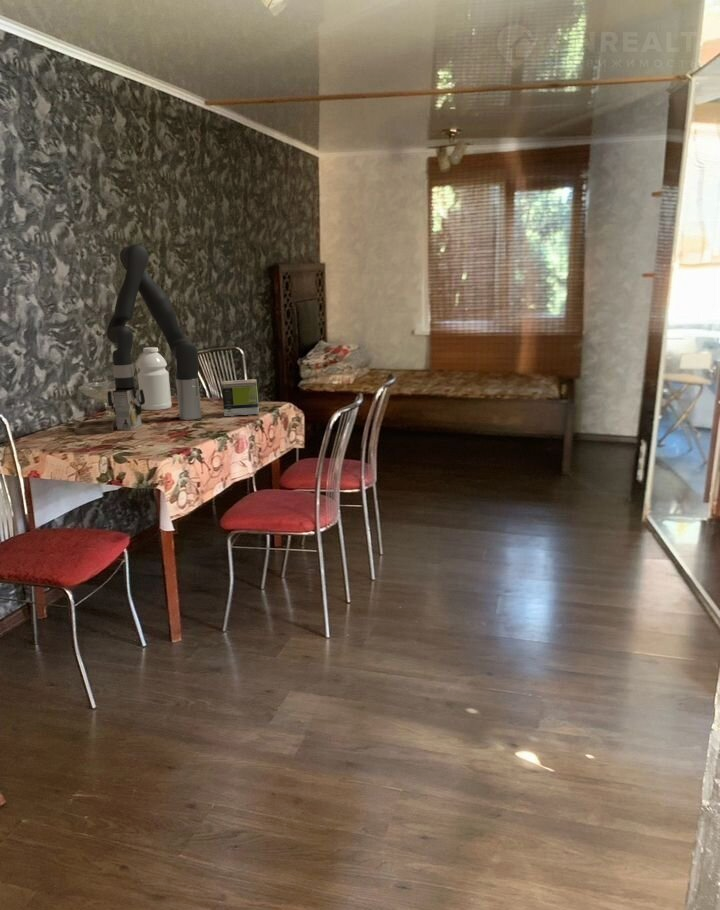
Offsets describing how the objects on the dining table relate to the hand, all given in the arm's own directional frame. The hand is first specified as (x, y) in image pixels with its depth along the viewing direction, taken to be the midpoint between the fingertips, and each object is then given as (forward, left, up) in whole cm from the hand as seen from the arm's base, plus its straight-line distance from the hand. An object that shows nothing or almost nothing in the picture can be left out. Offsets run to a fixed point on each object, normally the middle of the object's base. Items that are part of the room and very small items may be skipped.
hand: (128, 415), depth 282 cm
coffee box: (0, 0, -5) cm, 5 cm away
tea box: (-46, -13, -5) cm, 48 cm away
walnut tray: (+13, +1, -5) cm, 14 cm away
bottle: (-8, -42, -5) cm, 43 cm away
